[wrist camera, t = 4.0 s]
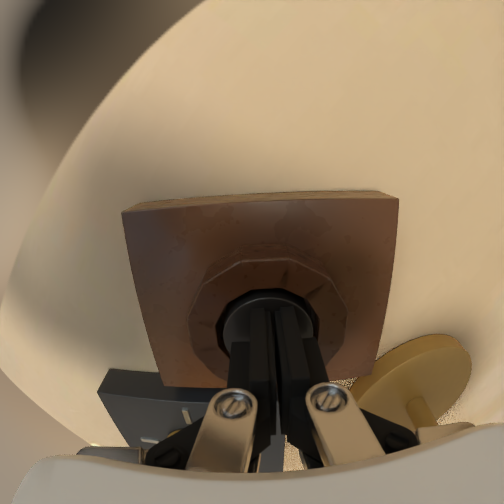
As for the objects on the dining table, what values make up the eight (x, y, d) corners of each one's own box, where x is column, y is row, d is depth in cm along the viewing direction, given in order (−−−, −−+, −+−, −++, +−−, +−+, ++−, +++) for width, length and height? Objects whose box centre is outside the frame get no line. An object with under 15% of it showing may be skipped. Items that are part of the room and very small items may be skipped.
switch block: (171, 362, 17) (156, 408, 13) (138, 202, 13) (101, 222, 10) (361, 352, 17) (381, 396, 13) (379, 191, 13) (420, 207, 9)
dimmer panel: (148, 444, 21) (141, 466, 18) (109, 368, 17) (95, 393, 15) (281, 449, 20) (283, 473, 18) (283, 372, 17) (287, 402, 14)
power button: (230, 347, 13) (227, 371, 12) (222, 280, 12) (218, 299, 10) (304, 342, 13) (310, 366, 12) (307, 275, 12) (315, 294, 10)
